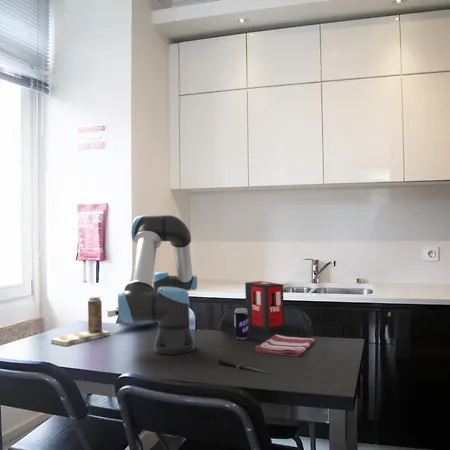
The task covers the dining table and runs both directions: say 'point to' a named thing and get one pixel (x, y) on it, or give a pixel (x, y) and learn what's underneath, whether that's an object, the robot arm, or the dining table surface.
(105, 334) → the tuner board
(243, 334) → the beverage can
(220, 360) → the knife
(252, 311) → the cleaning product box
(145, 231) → the robot arm
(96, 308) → the brown cylinder
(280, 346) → the dish towel
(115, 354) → the dining table surface
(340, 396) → the dining table surface
